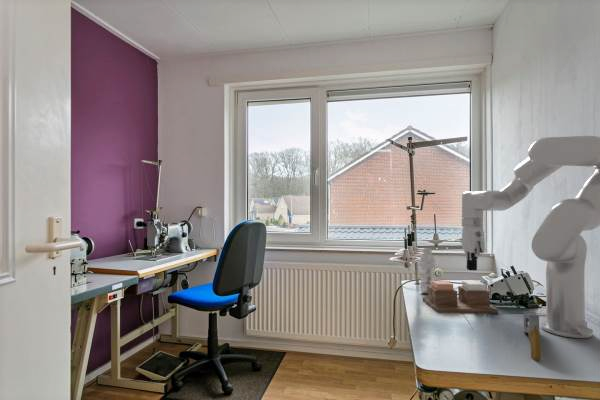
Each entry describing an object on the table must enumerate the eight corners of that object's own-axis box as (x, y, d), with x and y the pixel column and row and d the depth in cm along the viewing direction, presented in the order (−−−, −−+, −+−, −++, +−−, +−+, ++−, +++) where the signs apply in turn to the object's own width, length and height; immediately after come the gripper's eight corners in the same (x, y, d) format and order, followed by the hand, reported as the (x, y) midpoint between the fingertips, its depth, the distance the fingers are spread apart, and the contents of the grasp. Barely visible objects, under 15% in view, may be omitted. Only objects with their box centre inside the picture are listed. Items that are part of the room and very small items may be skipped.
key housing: (497, 313, 125) (497, 293, 125) (436, 312, 126) (436, 293, 126) (476, 301, 141) (476, 284, 141) (422, 300, 142) (422, 283, 142)
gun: (537, 363, 103) (534, 312, 109) (544, 362, 84) (541, 299, 89) (524, 361, 105) (522, 311, 110) (529, 359, 85) (527, 298, 91)
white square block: (485, 297, 130) (485, 284, 130) (469, 297, 130) (469, 284, 130) (477, 293, 136) (477, 281, 136) (462, 293, 136) (462, 280, 136)
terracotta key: (453, 297, 130) (453, 284, 130) (437, 297, 131) (437, 284, 131) (447, 293, 136) (446, 280, 136) (431, 293, 137) (431, 280, 137)
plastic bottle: (416, 292, 155) (416, 248, 155) (427, 291, 158) (427, 247, 158) (427, 296, 149) (427, 250, 149) (438, 294, 152) (438, 249, 152)
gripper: (492, 224, 126) (491, 274, 126) (473, 222, 141) (472, 266, 141) (471, 224, 127) (470, 273, 126) (454, 221, 141) (454, 266, 141)
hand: (471, 269), depth 134 cm, fingers closed
